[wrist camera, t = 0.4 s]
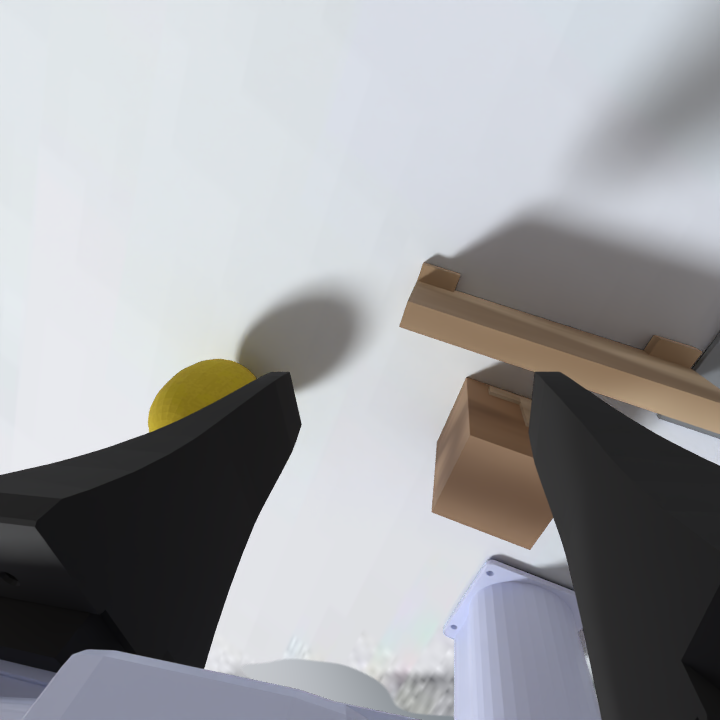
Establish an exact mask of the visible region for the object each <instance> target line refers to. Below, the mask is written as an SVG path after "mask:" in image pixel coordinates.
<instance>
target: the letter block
mask: <svg viewBox="0 0 720 720" xmlns="http://www.w3.org/2000/svg"><path fill="white" fill-rule="evenodd" d="M531 403H532V399H529V398H526V397H523V396H520V395H517V394H514V393H511V392H509V391H506V390H503V389H500V388H497V387H494V386H491V385H488V384H485V383H482V382H479V381H476V380H473V379H471V378H468V377H466V379H465V381H464V384H463V386H462V388H461V390H460V393H459V395H458V397H457V399H456V401H455V404H454V406H453V408H452V410H451V413H450V415H449V417H448V419H447V421H446V424H445V426H444V428H443V430H442V432H441V435H440V437H439V439H438V441H437V449H436V462H435V475H434V488H433V501H432V512H433V513H435V514H438V515H440V516H443V517H446V518H448V519H451V520H453V521H456V522H459V523H461V524H464V525H466V526H469V527H472V528H474V529H477V530H479V531H482V532H485V533H487V534H490V535H492V536H495V537H498V538H500V539H503V540H505V541H508V542H511V543H513V544H516V545H519V546H521V547H524V548H526V549H529V550H530V549H531V548H532V546H533V545H534V544H535V542H536V541H537V539H538V538H539V537H540V535H541V534H542V533H543V531H544V530H545V528H546V527H547V526H548V524H549V523H550V521H551V520H552V519H553V515H552V512H551V509H550V507H549V504H548V501H547V498H546V495H545V493H544V490H543V487H542V484H541V481H540V478H539V475H538V472H537V469H536V466H535V463H534V459H533V454H532V449H531V444H530V439H529V433H528V430H529V421H530V412H531Z"/></svg>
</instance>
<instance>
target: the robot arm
mask: <svg viewBox="0 0 720 720" xmlns="http://www.w3.org/2000/svg"><path fill="white" fill-rule="evenodd" d="M301 425H302V424H301V420H300V416H299V411H298V407H297V402H296V398H295V393H294V389H293V385H292V380H291V376H290V372H271V373H268V374H266V375H264V376H262V377H260V378H258V379H256V380H254V381H252V382H250V383H248V384H246V385H245V386H243V387H241V388H239V389H237V390H236V391H234V392H232V393H230V394H228V395H227V396H225V397H223V398H221V399H219V400H217V401H216V402H214V403H212V404H210V405H208V406H206V407H204V408H202V409H200V410H198V411H196V412H194V413H192V414H190V415H188V416H186V417H184V418H182V419H180V420H178V421H175V422H173V423H171V424H169V425H166V426H164V427H162V428H159V429H157V430H155V431H152V432H150V433H147V434H145V435H142V436H139V437H136V438H133V439H130V440H128V441H125V442H122V443H119V444H116V445H114V446H111V447H108V448H105V449H101V450H98V451H95V452H92V453H88V454H85V455H81V456H78V457H74V458H71V459H67V460H63V461H59V462H55V463H52V464H48V465H43V466H39V467H34V468H30V469H25V470H21V471H16V472H12V473H8V474H3V475H0V720H420V719H416V718H411V717H406V716H402V715H397V714H392V713H387V712H383V711H378V710H373V709H369V708H364V707H359V706H355V705H350V704H345V703H341V702H336V701H332V700H330V699H327V698H323V697H320V696H318V695H315V694H312V693H309V692H306V691H303V690H300V689H295V688H291V687H286V686H281V685H277V684H272V683H267V682H262V681H258V680H253V679H248V678H243V677H239V676H234V675H229V674H224V673H220V672H215V671H210V670H205V669H204V667H205V664H206V661H207V657H208V654H209V651H210V647H211V644H212V641H213V637H214V634H215V631H216V628H217V625H218V622H219V619H220V616H221V613H222V610H223V607H224V604H225V601H226V598H227V595H228V592H229V589H230V586H231V583H232V581H233V578H234V575H235V573H236V570H237V567H238V565H239V562H240V559H241V556H242V554H243V551H244V549H245V546H246V544H247V541H248V539H249V536H250V534H251V532H252V529H253V527H254V524H255V522H256V520H257V518H258V516H259V514H260V512H261V510H262V508H263V506H264V504H265V502H266V500H267V498H268V496H269V495H270V493H271V491H272V489H273V487H274V485H275V483H276V481H277V480H278V478H279V476H280V474H281V472H282V470H283V468H284V466H285V464H286V463H287V461H288V459H289V457H290V455H291V453H292V451H293V448H294V445H295V443H296V440H297V437H298V434H299V431H300V428H301ZM528 433H529V439H530V444H531V449H532V454H533V459H534V463H535V466H536V469H537V472H538V475H539V478H540V481H541V484H542V487H543V490H544V493H545V495H546V498H547V501H548V504H549V507H550V509H551V512H552V515H553V518H554V521H555V524H556V526H557V529H558V532H559V535H560V538H561V541H562V544H563V547H564V551H565V554H566V558H567V562H568V566H569V570H570V574H571V578H572V583H573V587H574V591H572V590H570V589H567V588H565V587H562V586H560V585H557V584H554V583H552V582H549V581H547V580H544V579H542V578H539V577H537V576H534V575H531V574H529V573H526V572H524V571H521V570H519V569H516V568H513V567H511V566H508V565H506V564H503V563H501V562H498V561H496V560H488V561H486V562H485V564H484V565H483V567H482V568H481V570H480V571H479V573H478V575H477V576H476V578H475V579H474V581H473V582H472V584H471V585H470V587H469V588H468V590H467V592H466V593H465V595H464V596H463V598H462V599H461V601H460V602H459V604H458V605H457V607H456V608H455V610H454V612H453V613H452V615H451V616H450V618H449V619H448V621H447V622H446V624H445V625H444V627H443V633H444V635H445V636H447V637H449V638H451V639H454V720H720V466H719V465H717V464H715V463H713V462H710V461H708V460H706V459H704V458H702V457H700V456H698V455H696V454H694V453H692V452H690V451H688V450H686V449H684V448H682V447H680V446H678V445H676V444H674V443H672V442H670V441H668V440H666V439H665V438H663V437H661V436H659V435H657V434H656V433H654V432H652V431H650V430H649V429H647V428H645V427H644V426H642V425H640V424H639V423H637V422H635V421H633V420H632V419H630V418H629V417H627V416H625V415H624V414H622V413H621V412H619V411H617V410H616V409H614V408H613V407H611V406H610V405H608V404H607V403H605V402H604V401H602V400H601V399H599V398H598V397H597V396H595V395H594V394H592V393H591V392H589V391H588V390H586V389H585V388H584V387H582V386H581V385H579V384H578V383H576V382H575V381H574V380H572V379H571V378H569V377H568V376H566V375H565V374H563V373H561V372H535V375H534V384H533V393H532V403H531V412H530V421H529V430H528ZM582 628H583V631H584V636H585V640H586V645H587V650H588V655H589V659H590V664H591V669H592V674H593V679H594V684H595V689H596V694H597V697H596V694H595V690H594V687H593V683H592V680H591V676H590V673H589V669H588V666H587V662H586V658H585V655H584V651H583V648H582V644H581V641H580V637H579V634H578V632H579V631H580V630H581V629H582ZM597 699H598V701H597Z"/></svg>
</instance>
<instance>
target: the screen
mask: <svg viewBox="0 0 720 720" xmlns="http://www.w3.org/2000/svg"><path fill="white" fill-rule="evenodd" d="M459 278H460V273H457V272H454V271H450V270H447V269H444V268H441V267H438V266H434V265H431V264H428V263H425V262H424V263H423V265H422V268H421V271H420V274H419V277H418V280H417V282H416V285H415V287H414V289H413V291H412V293H411V295H410V297H409V300H408V302H407V305H406V308H405V311H404V314H403V317H402V320H401V323H400V326H399V327H401V328H404V329H407V330H410V331H413V332H416V333H419V334H422V335H425V336H428V337H431V338H434V339H437V340H440V341H443V342H446V343H449V344H452V345H455V346H458V347H461V348H464V349H467V350H470V351H473V352H476V353H479V354H482V355H485V356H488V357H491V358H494V359H497V360H500V361H503V362H506V363H509V364H512V365H515V366H518V367H521V368H524V369H527V370H530V371H533V372H561V373H563V374H565V375H566V376H568V377H569V378H571V379H572V380H574V381H575V382H576V383H578V384H579V385H581V386H582V387H584V388H585V389H586V390H589V391H592V392H595V393H598V394H601V395H604V396H607V397H610V398H613V399H616V400H619V401H622V402H625V403H628V404H631V405H634V406H637V407H640V408H643V409H646V410H649V411H652V412H655V413H658V414H661V415H664V416H667V417H670V418H673V419H676V420H679V421H682V422H685V423H688V424H691V425H694V426H697V427H700V428H703V429H706V430H709V431H712V432H715V433H718V434H720V389H719V388H718V387H716V386H715V385H713V384H712V383H711V382H709V381H708V380H706V379H705V378H704V377H702V376H701V375H699V374H698V373H697V372H695V371H694V370H692V369H691V367H692V366H693V364H694V363H695V362H696V360H697V359H698V358H699V356H700V355H701V354H702V351H700V350H698V349H697V348H695V347H692V346H689V345H685V344H682V343H679V342H676V341H673V340H670V339H666V338H663V337H660V336H657V335H654V336H653V337H652V339H651V340H650V341H649V343H648V344H647V346H646V347H645V349H644V350H641V349H638V348H634V347H631V346H628V345H625V344H622V343H619V342H616V341H613V340H609V339H606V338H603V337H600V336H597V335H594V334H591V333H588V332H584V331H581V330H578V329H575V328H572V327H569V326H566V325H562V324H559V323H556V322H553V321H550V320H547V319H544V318H541V317H537V316H534V315H531V314H528V313H525V312H522V311H519V310H516V309H512V308H509V307H506V306H503V305H500V304H497V303H494V302H491V301H487V300H484V299H481V298H478V297H475V296H472V295H469V294H466V293H462V292H459V291H456V290H455V288H456V286H457V283H458V281H459Z"/></svg>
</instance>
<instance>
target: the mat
mask: <svg viewBox="0 0 720 720" xmlns="http://www.w3.org/2000/svg"><path fill="white" fill-rule="evenodd" d="M692 370H694V371H695V372H697V373H698V374H699V375H701V376H702V377H704V378H705V379H706V380H708V381H709V382H711V383H712V384H713V385H715V386H716V387H718V388H719V389H720V333H719V334H718V336H717V337H716V338H715V340H714V341H713V342H712V344H711V345H710V346H709V348H708V349H707V350H706V351H705V353H704V354H703V355H702V357H701V358H700V359H699V361H698V362H697V363H696V365H695V366H694V367H693V369H692ZM657 417H658V418H659V419H662V420H665V421H668V422H671V423H674V424H677V425H680V426H683V427H686V428H689V429H692V430H695V431H698V432H701V433H704V434H707V435H710V436H713V437H716V438H719V439H720V434H718V433H715V432H712V431H709V430H706V429H703V428H700V427H697V426H694V425H691V424H688V423H685V422H682V421H679V420H676V419H673V418H670V417H667V416H664V415H661V414H658V415H657Z"/></svg>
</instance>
